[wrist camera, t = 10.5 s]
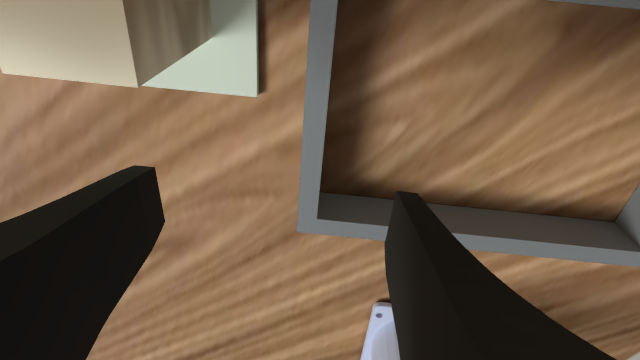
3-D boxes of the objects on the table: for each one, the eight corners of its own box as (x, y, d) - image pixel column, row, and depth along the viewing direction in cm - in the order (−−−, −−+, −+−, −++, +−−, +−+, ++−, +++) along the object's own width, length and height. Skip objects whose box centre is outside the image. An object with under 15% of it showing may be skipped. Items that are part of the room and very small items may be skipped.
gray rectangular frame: (622, 237, 22) (652, 268, 20) (301, 204, 22) (296, 231, 20) (792, -10, 15) (867, -3, 13) (318, -55, 15) (313, -55, 13)
